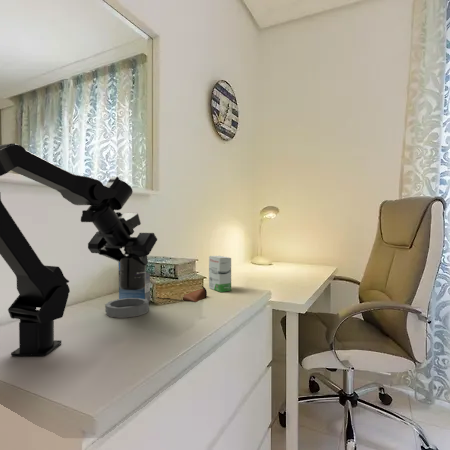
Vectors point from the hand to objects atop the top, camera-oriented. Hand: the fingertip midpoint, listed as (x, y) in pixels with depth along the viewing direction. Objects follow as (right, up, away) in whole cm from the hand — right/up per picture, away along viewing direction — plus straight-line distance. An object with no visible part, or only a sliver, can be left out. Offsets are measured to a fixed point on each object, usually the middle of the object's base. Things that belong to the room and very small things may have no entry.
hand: (135, 263), depth 91 cm
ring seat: (-2, -13, -1) cm, 13 cm away
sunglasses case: (+9, -13, +16) cm, 22 cm away
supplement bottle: (-1, -7, -1) cm, 7 cm away
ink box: (+23, -13, +27) cm, 37 cm away
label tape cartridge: (-3, -13, +10) cm, 17 cm away
